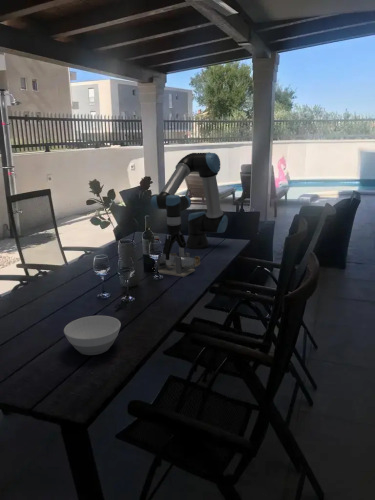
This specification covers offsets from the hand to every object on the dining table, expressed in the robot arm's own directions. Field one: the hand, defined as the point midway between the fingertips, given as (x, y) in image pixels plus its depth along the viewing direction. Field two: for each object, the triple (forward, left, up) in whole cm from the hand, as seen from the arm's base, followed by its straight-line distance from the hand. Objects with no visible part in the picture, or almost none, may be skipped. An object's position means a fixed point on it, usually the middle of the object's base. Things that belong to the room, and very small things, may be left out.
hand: (175, 262), depth 237 cm
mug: (-18, -27, -6) cm, 33 cm away
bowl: (+90, +22, -6) cm, 93 cm away
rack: (-14, -4, -5) cm, 15 cm away
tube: (0, 0, -2) cm, 2 cm away
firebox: (0, -2, -5) cm, 6 cm away
